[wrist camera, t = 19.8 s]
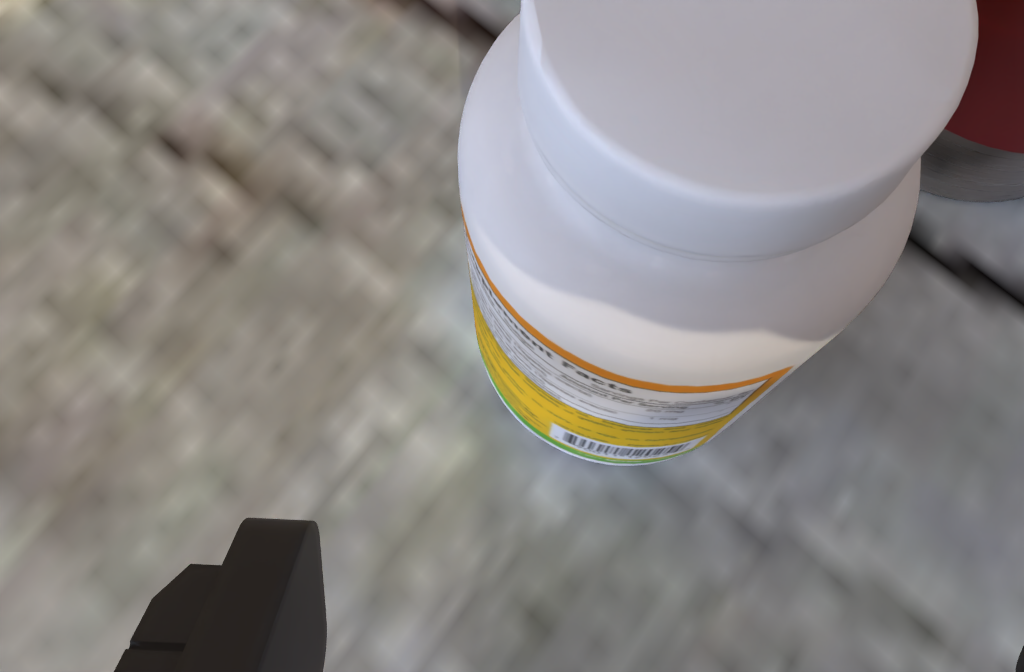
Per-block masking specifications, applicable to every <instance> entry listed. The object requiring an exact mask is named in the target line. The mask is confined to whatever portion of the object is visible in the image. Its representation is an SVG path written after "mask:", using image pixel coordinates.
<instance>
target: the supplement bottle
mask: <svg viewBox="0 0 1024 672" xmlns="http://www.w3.org/2000/svg"><path fill="white" fill-rule="evenodd" d="M977 43H978V11H977V4H976V0H521V10H520V13H519V14H518V15H517V16H516V17H515V18H514V19H513V20H512V21H511V22H510V23H509V25H508V26H507V27H506V28H505V29H504V30H503V31H502V33H501V34H500V35H499V36H498V38H497V39H496V41H495V42H494V43H493V45H492V47H491V48H490V50H489V51H488V53H487V55H486V56H485V58H484V59H483V61H482V63H481V65H480V67H479V69H478V71H477V73H476V75H475V78H474V80H473V83H472V85H471V87H470V90H469V93H468V96H467V100H466V103H465V106H464V110H463V115H462V119H461V124H460V133H459V141H458V176H459V190H460V200H461V208H462V217H463V225H464V232H465V240H466V248H467V256H468V265H469V274H470V282H471V290H472V300H473V309H474V318H475V327H476V334H477V340H478V345H479V349H480V353H481V356H482V360H483V363H484V366H485V369H486V371H487V373H488V376H489V378H490V380H491V382H492V384H493V386H494V388H495V390H496V392H497V393H498V395H499V397H500V398H501V400H502V402H503V403H504V404H505V406H506V407H507V408H508V409H509V411H510V412H511V413H512V414H513V416H514V417H515V418H516V419H517V420H518V421H519V422H520V423H521V424H522V425H523V426H524V427H526V428H527V429H528V430H529V431H530V432H531V433H533V434H534V435H536V436H537V437H539V438H540V439H542V440H543V441H545V442H546V443H548V444H550V445H551V446H553V447H555V448H557V449H559V450H561V451H563V452H565V453H567V454H570V455H572V456H575V457H578V458H581V459H584V460H588V461H591V462H596V463H601V464H607V465H617V466H636V465H646V464H652V463H658V462H662V461H666V460H670V459H673V458H676V457H679V456H681V455H684V454H686V453H688V452H691V451H693V450H695V449H697V448H698V447H700V446H702V445H703V444H705V443H707V442H709V441H710V440H711V439H713V438H714V437H716V436H717V435H719V434H720V433H721V432H723V431H724V430H725V429H726V428H727V427H729V426H730V425H731V424H732V423H734V422H735V421H736V420H737V419H739V418H740V417H741V416H742V415H743V414H744V413H745V412H747V411H748V410H749V409H750V408H751V407H752V406H754V405H755V404H756V403H757V402H758V401H759V400H761V399H762V398H763V397H764V396H765V395H767V394H768V393H769V392H770V391H771V390H772V389H774V388H775V387H776V386H777V385H778V384H779V383H781V382H782V381H783V380H784V379H785V378H787V377H788V376H789V375H790V374H791V373H792V372H794V371H795V370H796V369H797V368H798V367H799V366H801V365H802V364H803V363H804V362H805V361H807V360H808V359H809V358H810V357H811V356H813V355H814V354H815V353H816V352H817V351H819V350H820V349H821V348H822V347H823V346H825V345H826V344H827V343H828V342H829V341H831V340H832V339H833V338H834V337H835V336H836V335H838V334H839V333H840V332H841V331H842V330H843V329H844V328H845V327H846V326H847V325H848V324H849V323H850V322H851V321H852V320H853V319H854V318H855V317H857V316H858V315H859V314H860V313H861V312H862V310H863V309H864V308H865V307H866V306H867V305H868V304H869V302H870V301H871V300H872V299H873V298H874V297H875V295H876V294H877V293H878V291H879V290H880V289H881V287H882V286H883V285H884V283H885V282H886V281H887V279H888V278H889V276H890V274H891V272H892V271H893V269H894V267H895V265H896V263H897V261H898V259H899V257H900V256H901V254H902V252H903V250H904V247H905V244H906V242H907V239H908V236H909V234H910V231H911V228H912V224H913V220H914V216H915V212H916V208H917V202H918V196H919V190H920V170H921V156H922V155H923V153H924V152H925V151H926V150H927V149H928V148H929V147H930V145H931V144H932V143H933V142H934V141H935V140H936V138H937V137H938V136H939V134H940V133H941V132H942V130H943V129H944V128H945V127H946V125H947V123H948V122H949V120H950V119H951V117H952V115H953V114H954V112H955V111H956V109H957V107H958V106H959V103H960V101H961V99H962V96H963V94H964V92H965V89H966V87H967V85H968V82H969V78H970V75H971V71H972V68H973V65H974V61H975V55H976V49H977Z"/></svg>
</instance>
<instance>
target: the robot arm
mask: <svg viewBox="0 0 1024 672" xmlns="http://www.w3.org/2000/svg"><path fill="white" fill-rule="evenodd" d="M326 640H327V621H326V608H325V596H324V584H323V572H322V560H321V548H320V536H319V530H318V526H317V523H316V522H315V521H306V520H286V519H265V518H246V519H245V520H244V521H243V522H242V523H241V525H240V527H239V529H238V531H237V533H236V535H235V537H234V540H233V542H232V544H231V546H230V549H229V551H228V553H227V555H226V557H225V560H224V562H223V564H222V566H221V565H201V564H190V565H189V566H188V567H187V568H186V569H184V570H183V571H182V572H181V573H180V574H179V575H178V576H177V577H176V578H175V579H173V580H172V581H171V582H170V583H169V584H168V585H167V586H166V587H165V588H163V589H162V590H161V591H160V592H159V593H158V594H157V595H156V596H155V597H154V598H152V600H151V602H150V604H149V606H148V608H147V610H146V612H145V613H144V615H143V617H142V619H141V621H140V623H139V625H138V627H137V629H136V631H135V632H134V634H133V636H132V638H131V640H130V647H129V649H126V650H125V652H124V653H123V655H122V657H121V659H120V661H119V663H118V665H117V667H116V669H115V671H114V672H323V667H324V661H325V652H326ZM1016 672H1024V646H1023V649H1022V651H1021V653H1020V656H1019V658H1018V662H1017V666H1016Z"/></svg>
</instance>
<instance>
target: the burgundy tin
mask: <svg viewBox="0 0 1024 672" xmlns="http://www.w3.org/2000/svg"><path fill="white" fill-rule="evenodd" d="M976 4H977V11H978V43H977V49H976V55H975V61H974V65H973V68H972V71H971V75H970V78H969V82H968V85H967V87H966V89H965V92H964V94H963V96H962V99H961V101H960V103H959V106H958V107H957V109H956V111H955V112H954V114H953V115H952V117H951V119H950V120H949V122H948V123H947V125H946V127H945V128H944V129H943V130H942V132H941V133H940V134H939V136H938V137H937V138H936V140H935V141H934V142H933V143H932V144H931V145H930V147H929V148H928V149H927V150H926V151H925V152H924V153H923V155H922V156H921V170H920V189H921V190H923V191H926V192H929V193H932V194H935V195H938V196H943V197H947V198H951V199H956V200H964V201H973V202H999V201H1006V200H1014V199H1020V198H1023V197H1024V0H976Z"/></svg>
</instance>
